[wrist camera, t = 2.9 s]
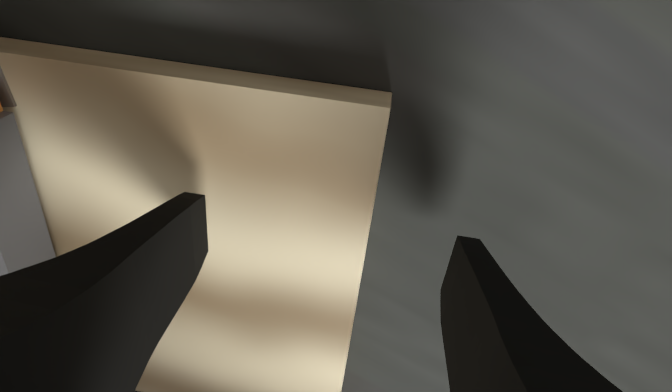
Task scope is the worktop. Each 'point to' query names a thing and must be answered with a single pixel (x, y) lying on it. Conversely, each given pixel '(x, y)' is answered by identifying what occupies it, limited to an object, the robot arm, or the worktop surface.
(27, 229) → the grey bar
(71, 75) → the light wood flat board
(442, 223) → the worktop surface
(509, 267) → the worktop surface
